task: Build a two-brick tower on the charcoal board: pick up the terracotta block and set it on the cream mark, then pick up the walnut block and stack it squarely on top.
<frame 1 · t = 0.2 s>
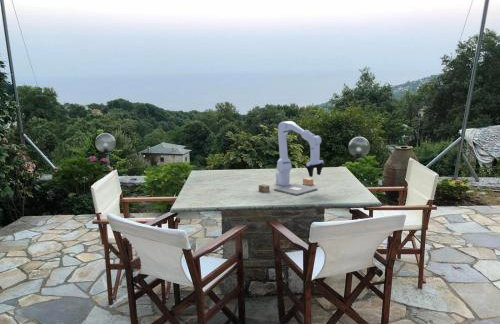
hand: (314, 175, 253), 10 cm above the table, fingers open, 7 cm apart
tower board: (295, 190, 257), on the table
brick terracotta: (308, 184, 272), on the table
brick walnut: (264, 191, 256), on the table
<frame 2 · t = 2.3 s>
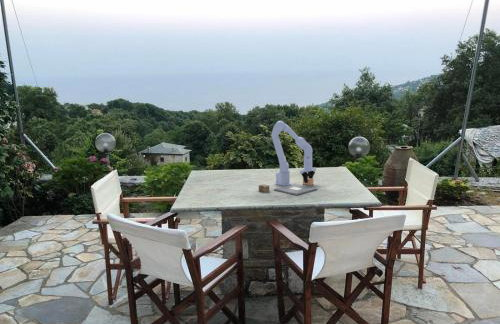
hand: (308, 182, 272), 1 cm above the table, fingers closed on brick terracotta, 4 cm apart
brick terracotta: (308, 184, 272), on the table, touching gripper
everything else where it was.
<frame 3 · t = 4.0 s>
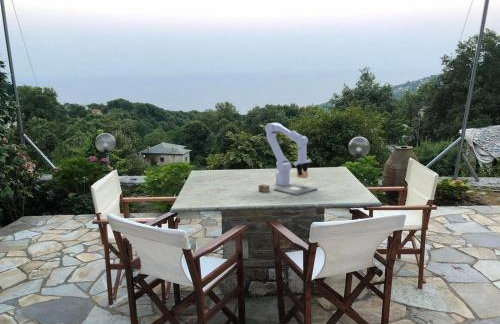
hand: (302, 174, 263), 8 cm above the table, fingers closed on brick terracotta, 4 cm apart
brick terracotta: (302, 177, 264), point 7 cm above the table, touching gripper
everything else where it was.
when the fingers open (3 cm above the table, at t = 6.0 s): brick terracotta stays where it is, resting on tower board.
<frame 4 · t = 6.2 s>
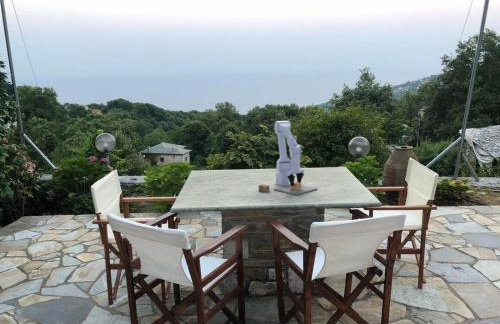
hand: (295, 184, 256), 3 cm above the table, fingers open, 6 cm apart
brick terracotta: (295, 188, 256), point 1 cm above the table, touching tower board
everything else where it was.
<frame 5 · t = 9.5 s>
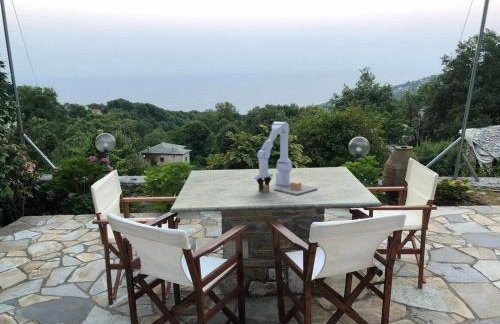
hand: (264, 188, 256), 1 cm above the table, fingers closed on brick walnut, 4 cm apart
brick walnut: (264, 191, 256), on the table, touching gripper
everything else where it was.
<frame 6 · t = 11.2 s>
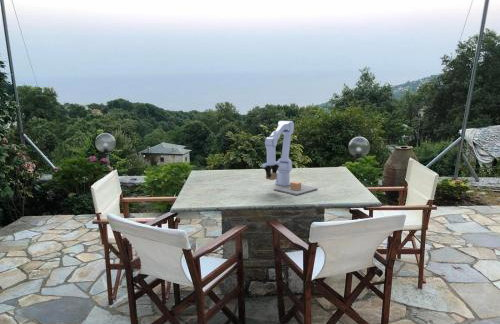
hand: (271, 176, 255), 9 cm above the table, fingers closed on brick walnut, 4 cm apart
brick walnut: (271, 178, 255), point 8 cm above the table, touching gripper
everything else where it was.
when the fingers open (7 cm above the table, at t = 12.9 s): brick walnut stays where it is, resting on brick terracotta.
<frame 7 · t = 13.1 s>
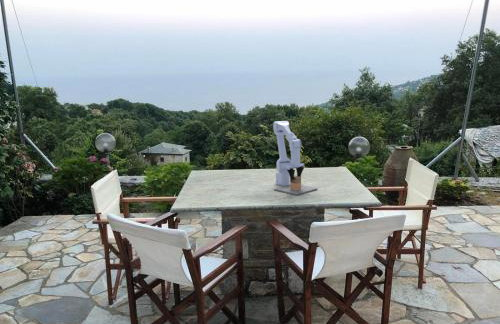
hand: (295, 178, 255), 7 cm above the table, fingers open, 6 cm apart
brick terracotta: (295, 188, 256), point 1 cm above the table, touching brick walnut, tower board
brick walnut: (295, 182, 256), point 5 cm above the table, touching brick terracotta
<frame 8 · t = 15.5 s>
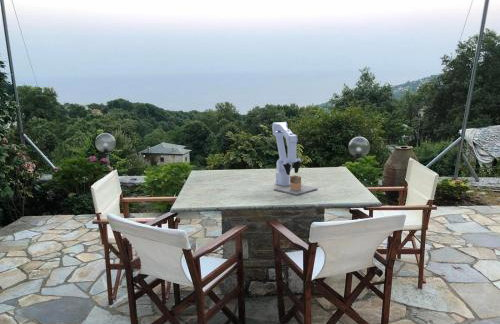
hand: (292, 173, 257), 10 cm above the table, fingers open, 7 cm apart
nothing on the table moved.
at the end: brick terracotta 0.1 cm off-centre on the tower board, point 1.0 cm above the tower board's base; brick walnut 0.1 cm off-centre on the brick terracotta, point 4.0 cm above the brick terracotta's base; brick walnut tilted 0° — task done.
